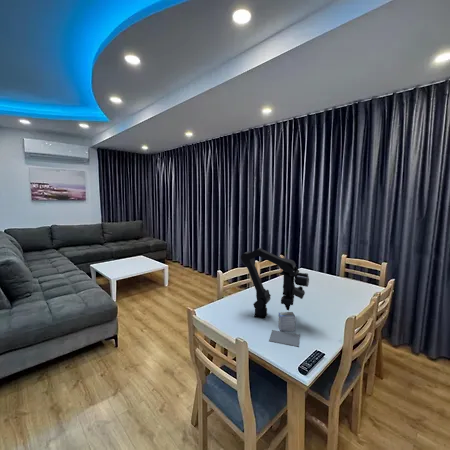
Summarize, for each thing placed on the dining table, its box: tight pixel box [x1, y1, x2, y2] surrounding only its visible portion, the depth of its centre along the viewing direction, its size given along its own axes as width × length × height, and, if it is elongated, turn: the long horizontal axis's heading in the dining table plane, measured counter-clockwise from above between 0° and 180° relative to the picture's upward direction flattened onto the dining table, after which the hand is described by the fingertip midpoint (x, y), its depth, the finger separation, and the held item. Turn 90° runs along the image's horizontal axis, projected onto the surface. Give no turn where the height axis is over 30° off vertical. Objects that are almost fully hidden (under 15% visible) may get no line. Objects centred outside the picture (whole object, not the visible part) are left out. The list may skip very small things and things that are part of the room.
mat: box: [268, 329, 301, 348], centre depth 120 cm, size 14×10×1 cm
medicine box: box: [277, 311, 296, 332], centre depth 128 cm, size 8×4×9 cm, turn 92°
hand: (287, 310), depth 134 cm, fingers closed
